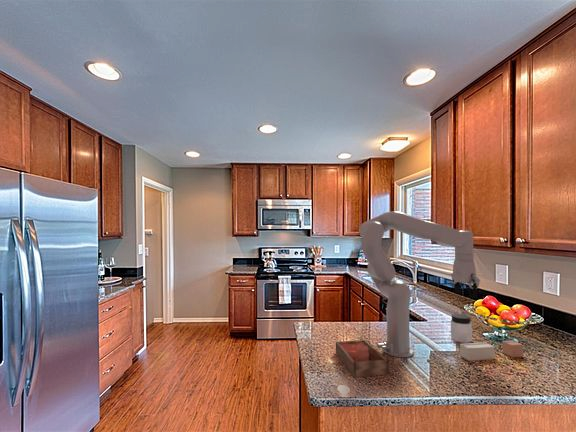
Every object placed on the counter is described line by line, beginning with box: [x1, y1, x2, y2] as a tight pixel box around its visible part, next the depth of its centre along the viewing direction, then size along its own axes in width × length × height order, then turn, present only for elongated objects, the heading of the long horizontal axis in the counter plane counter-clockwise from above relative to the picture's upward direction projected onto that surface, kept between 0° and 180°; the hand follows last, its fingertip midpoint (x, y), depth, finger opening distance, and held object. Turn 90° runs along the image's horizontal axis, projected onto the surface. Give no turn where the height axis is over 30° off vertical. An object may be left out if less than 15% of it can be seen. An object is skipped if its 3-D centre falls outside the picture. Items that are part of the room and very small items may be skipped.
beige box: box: [459, 342, 496, 361], centre depth 132 cm, size 12×5×5 cm, turn 98°
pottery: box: [340, 342, 371, 362], centre depth 130 cm, size 18×10×10 cm, turn 8°
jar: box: [450, 313, 473, 344], centre depth 153 cm, size 9×8×12 cm
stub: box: [501, 339, 524, 358], centre depth 134 cm, size 5×5×5 cm
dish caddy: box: [335, 339, 389, 378], centre depth 128 cm, size 14×23×5 cm, turn 8°
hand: (465, 295), depth 143 cm, fingers open, 9 cm apart
